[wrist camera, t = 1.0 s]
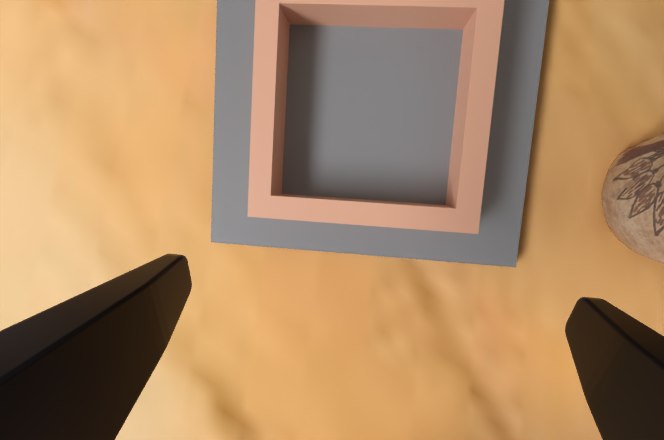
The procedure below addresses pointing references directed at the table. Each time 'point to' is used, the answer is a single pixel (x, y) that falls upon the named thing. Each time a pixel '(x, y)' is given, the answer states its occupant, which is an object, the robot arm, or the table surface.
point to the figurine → (637, 198)
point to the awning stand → (376, 125)
